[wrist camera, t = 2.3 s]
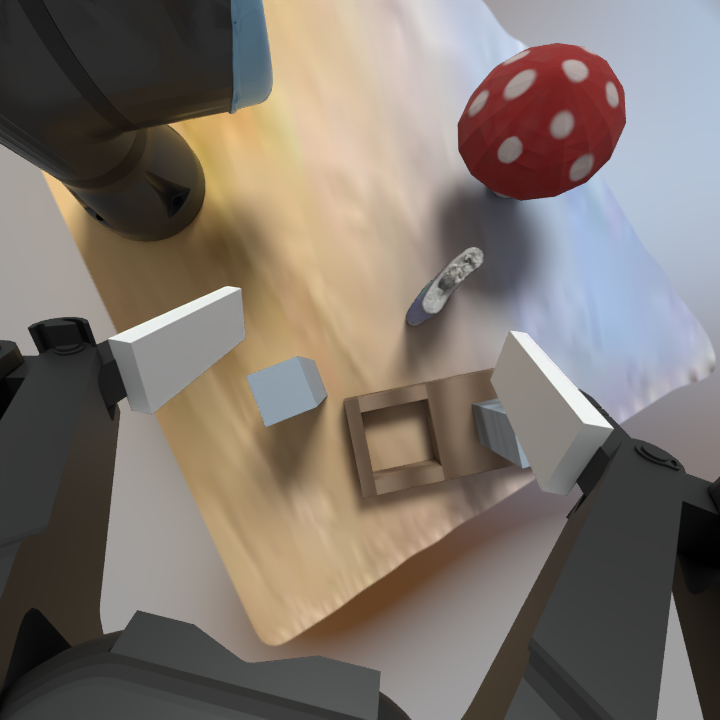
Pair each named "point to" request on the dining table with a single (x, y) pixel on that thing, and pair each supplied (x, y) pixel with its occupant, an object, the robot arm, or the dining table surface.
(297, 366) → the gray rectangular block
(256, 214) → the dining table surface
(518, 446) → the block insertion board
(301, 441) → the dining table surface
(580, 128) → the decorative mushroom
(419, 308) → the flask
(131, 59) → the robot arm
